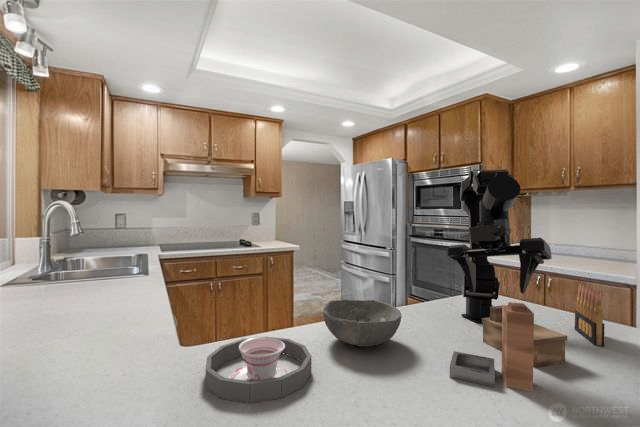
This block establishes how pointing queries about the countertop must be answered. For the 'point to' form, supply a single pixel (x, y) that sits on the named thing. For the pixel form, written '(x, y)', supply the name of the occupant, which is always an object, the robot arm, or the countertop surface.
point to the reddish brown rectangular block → (517, 346)
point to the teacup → (260, 359)
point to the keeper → (473, 374)
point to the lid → (540, 333)
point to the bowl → (361, 321)
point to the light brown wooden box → (541, 354)
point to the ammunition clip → (589, 316)
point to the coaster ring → (259, 388)
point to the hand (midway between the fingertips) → (496, 292)
